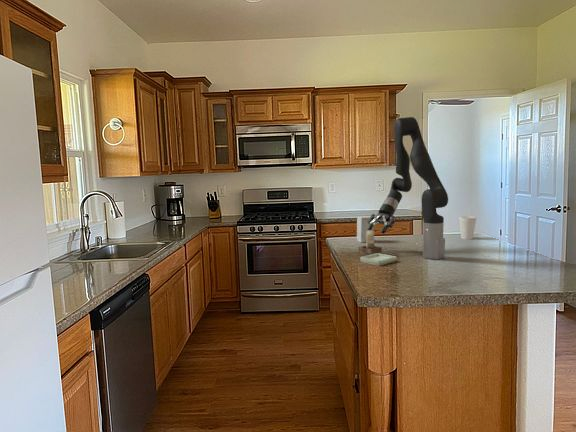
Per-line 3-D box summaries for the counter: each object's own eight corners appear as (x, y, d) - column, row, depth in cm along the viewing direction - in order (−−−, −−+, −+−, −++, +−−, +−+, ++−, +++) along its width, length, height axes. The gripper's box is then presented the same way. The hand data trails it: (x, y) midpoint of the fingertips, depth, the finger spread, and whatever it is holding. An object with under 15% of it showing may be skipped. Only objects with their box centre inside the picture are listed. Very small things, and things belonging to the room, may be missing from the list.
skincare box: (361, 242, 237) (361, 217, 235) (356, 241, 243) (356, 216, 241) (373, 241, 240) (374, 216, 238) (368, 240, 245) (369, 215, 244)
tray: (396, 261, 191) (396, 256, 190) (379, 265, 183) (379, 261, 182) (377, 257, 199) (377, 252, 199) (360, 261, 191) (360, 257, 191)
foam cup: (460, 239, 241) (461, 218, 239) (456, 237, 250) (457, 216, 248) (477, 239, 239) (478, 218, 238) (473, 237, 248) (473, 216, 247)
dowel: (375, 253, 207) (375, 230, 205) (370, 255, 204) (370, 231, 203) (369, 252, 210) (369, 229, 208) (364, 253, 207) (364, 230, 206)
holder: (381, 253, 207) (381, 247, 206) (371, 256, 201) (371, 249, 201) (368, 251, 213) (369, 245, 212) (358, 253, 208) (358, 247, 207)
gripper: (374, 202, 218) (361, 225, 212) (397, 204, 208) (384, 228, 201) (380, 211, 222) (367, 234, 216) (403, 213, 212) (390, 237, 206)
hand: (375, 231), depth 209 cm, fingers open, 8 cm apart
